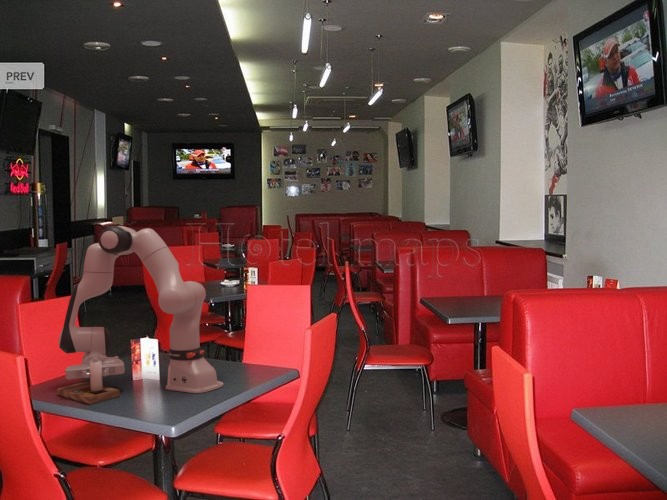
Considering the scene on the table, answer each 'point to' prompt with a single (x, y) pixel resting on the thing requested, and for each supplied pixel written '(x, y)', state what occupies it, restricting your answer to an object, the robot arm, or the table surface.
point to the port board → (87, 393)
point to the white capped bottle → (96, 375)
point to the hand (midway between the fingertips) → (96, 375)
